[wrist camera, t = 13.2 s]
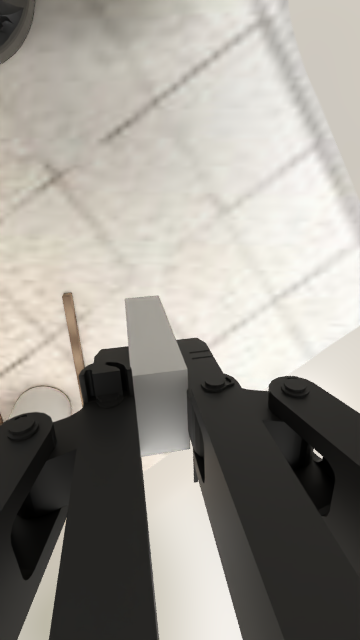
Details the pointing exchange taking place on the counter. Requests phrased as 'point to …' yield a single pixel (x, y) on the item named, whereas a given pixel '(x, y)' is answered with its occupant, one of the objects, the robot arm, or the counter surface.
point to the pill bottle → (43, 403)
